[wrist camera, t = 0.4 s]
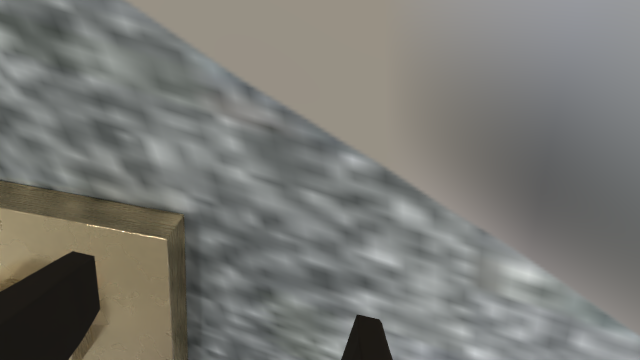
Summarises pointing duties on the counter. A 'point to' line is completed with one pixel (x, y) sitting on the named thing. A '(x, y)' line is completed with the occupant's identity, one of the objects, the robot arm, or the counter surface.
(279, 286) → the counter surface
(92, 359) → the oven controls
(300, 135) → the counter surface
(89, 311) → the robot arm
